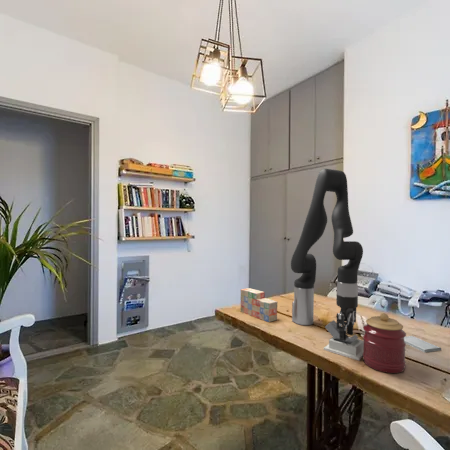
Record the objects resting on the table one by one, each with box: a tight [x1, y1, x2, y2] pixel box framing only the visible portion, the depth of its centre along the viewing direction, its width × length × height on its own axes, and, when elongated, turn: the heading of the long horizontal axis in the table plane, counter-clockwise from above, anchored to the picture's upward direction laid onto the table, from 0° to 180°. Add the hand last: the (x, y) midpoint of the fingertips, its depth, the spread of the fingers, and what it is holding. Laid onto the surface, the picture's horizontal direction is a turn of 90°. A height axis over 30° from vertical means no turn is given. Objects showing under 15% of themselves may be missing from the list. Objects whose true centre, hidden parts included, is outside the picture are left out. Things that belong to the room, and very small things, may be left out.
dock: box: [323, 336, 364, 361], centre depth 114 cm, size 13×11×4 cm
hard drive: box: [404, 335, 442, 354], centre depth 119 cm, size 2×8×12 cm
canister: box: [362, 312, 407, 374], centre depth 102 cm, size 13×13×18 cm
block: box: [324, 319, 359, 345], centre depth 115 cm, size 6×4×10 cm
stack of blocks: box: [240, 287, 278, 323], centre depth 154 cm, size 21×6×12 cm, turn 37°
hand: (346, 337), depth 113 cm, fingers open, 6 cm apart
